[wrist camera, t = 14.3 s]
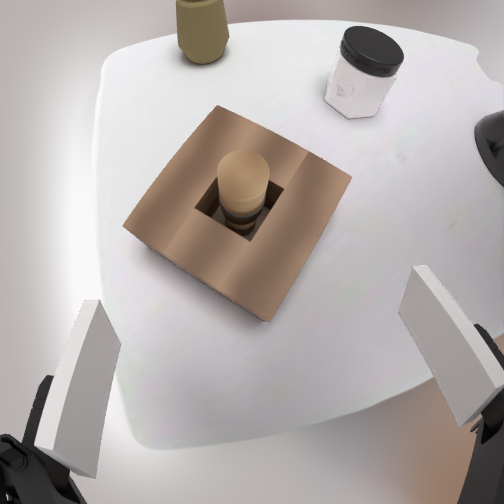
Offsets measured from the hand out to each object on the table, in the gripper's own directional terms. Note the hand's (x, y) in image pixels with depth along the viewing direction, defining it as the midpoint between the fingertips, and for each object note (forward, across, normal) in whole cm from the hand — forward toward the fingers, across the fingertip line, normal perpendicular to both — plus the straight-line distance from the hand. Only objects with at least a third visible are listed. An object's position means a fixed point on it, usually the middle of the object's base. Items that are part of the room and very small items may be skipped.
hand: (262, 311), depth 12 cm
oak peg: (+22, 0, -7) cm, 23 cm away
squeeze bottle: (+44, -3, +13) cm, 46 cm away
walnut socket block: (+23, 0, -8) cm, 24 cm away
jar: (+36, +18, +5) cm, 41 cm away
